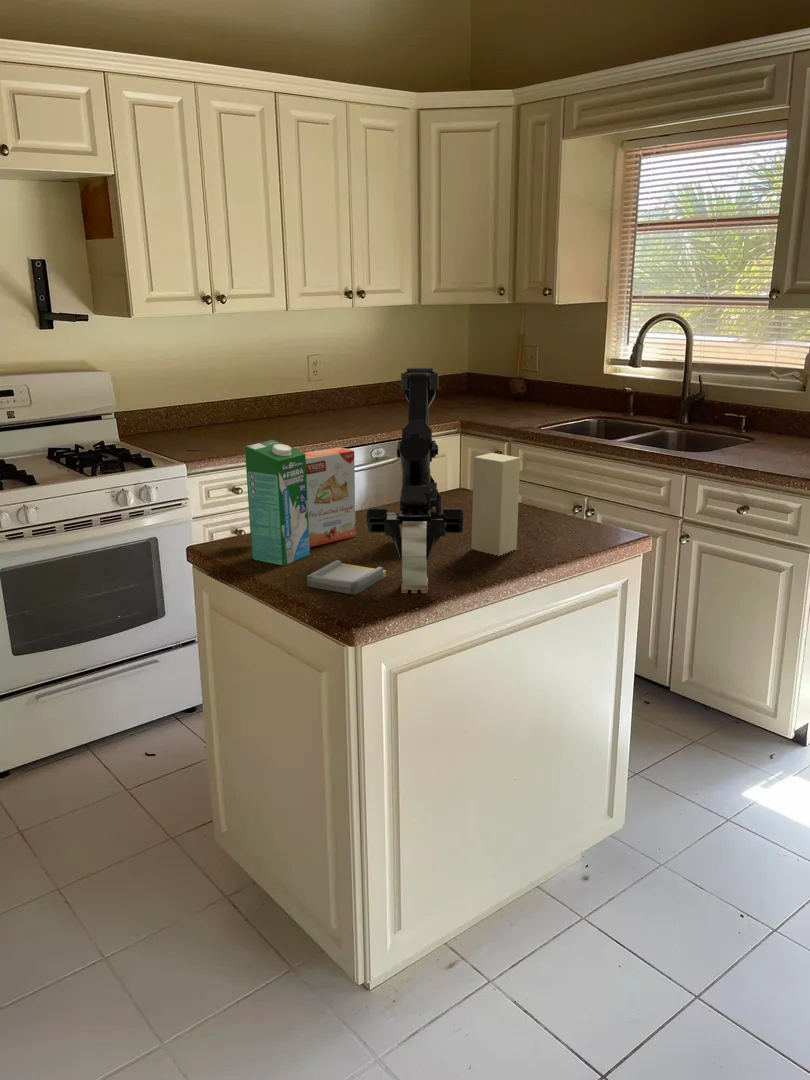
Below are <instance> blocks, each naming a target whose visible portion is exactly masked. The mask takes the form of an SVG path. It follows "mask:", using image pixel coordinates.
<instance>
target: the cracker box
mask: <svg viewBox="0 0 810 1080" xmlns="http://www.w3.org/2000/svg"><path fill="white" fill-rule="evenodd" d="M304 453H305V456H306V478H307V500H308V523H309V545H310V548H313V547H318V546H321V545H326V544H330V543H334V542H338V541H342V540H346V539H351V538H355V537H356V484H355V483H356V481H355V476H356V475H355V469H356V468H355V467H356V466H355V450H353V449H350V448H344V447H341V446H340V447H333V448H332V447H331V448H328V449H321V450H313V451H308V452H304Z"/></svg>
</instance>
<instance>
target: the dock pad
mask: <svg viewBox="0 0 810 1080" xmlns="http://www.w3.org/2000/svg"><path fill="white" fill-rule="evenodd" d="M386 577H387V570H386V569H385V570H384V567H381V566H378V567H376V568H373V567H366V566H361V565H354V564H349V563H342V561H341V560H338V559H336V560H334V561H332V562H330V563H329V564H327V565H325V566H322V567H321V568H319V569H317V570H315V571H313V572H311V573H309V574H308V575H306V578H307V579H306V581H307V582H306V583H307V587H309V588H314V589H321V590H326V591H332V592H337V593H342V594H348V595H353V596H356V595H358V594H359V593H361V592H363V591H365V590H366V589H367V588H369V587H371V586H373V585H374V584H376V583H377V582H379V581H380V580H382V579H384V578H386Z"/></svg>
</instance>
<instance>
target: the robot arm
mask: <svg viewBox="0 0 810 1080" xmlns="http://www.w3.org/2000/svg"><path fill="white" fill-rule="evenodd" d="M400 390H404V396H405V399H406V400H407V402H408V412H407V413H408V415H407V424H406V425H405V426H404V427H403V428H402V430H401V440H400V439H399V440H398V441H397V442H398V443H397V446H396V447H397V448H396V457H397V458H399V459H400V467H401V468H400V469H401V471H402V472H401V473H402V474H401V490H400V498H399V511H400V513H398V512H389V511H388V507H369V508H368V509H367V510H366V524H367V530H368V532H369V533H372V534H379V533H380V534H381V533H382V534H385V536H386V537H390V538H391V540H392V541H393V543H394V546H395V548H396V552H397V554H398V556H399V560H401V561H402V533H401V528H400V525H402V523H403V521H427V549H426V560H427V561H428V560H429V558H430V557H431V555H432V552H433V550H434V547H435V546H436V544H437V542H438V541H439V540H440V537H445V536H446V533H447V534H461V533H463V531H464V530H463V529H464V527H463V526H464V511H463V509H462V508H461V507H442V495H441V494H440V492H439V489H438V484H437V482H435V480H434V478H433V476H432V475H431V462H432V461H433V458H436V457H437V456H438V455H439V445H438V444H437V442H436V440H435V439H434V440H433V430H432V428H431V427H430V425H429V422H430V416H429V415H430V414H429V413H430V412H429V411H430V406H431V405H432V403H433V401H434V399H435V398H436V390H439V372H436V371H434V367H407V368H406V371H405V372H401V373H400Z"/></svg>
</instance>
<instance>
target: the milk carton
mask: <svg viewBox="0 0 810 1080" xmlns="http://www.w3.org/2000/svg"><path fill="white" fill-rule="evenodd" d="M305 453H306V452H304V451H300V450H297V449H296V448H293V447H291V446H289V445H287V444H284V443H282V442H280V441H278V440H277V441H276V440H274V439H270V440H267V441H262V442H259V443H255V444H250V445H246V446H244V454H245V455H244V456H245V469H246V470H245V471H246V485H247V486H246V487H247V488H246V489H247V499H248V500H247V502H248V517H249V532H250V534H249V535H250V545H251V546H250V548H251V559H252V560H253V559H254V560H255V561H258V560H259V562H265V563H270V564H274V565H279V566H283V567H284V566H286V565H289V564H291V563H293V562H296V561H298V560H300V559H304V558H306V557H308V556H310V554H311V551H310V548H311V547H310V545H309V523H308V500H307V478H306V456H305Z"/></svg>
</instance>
